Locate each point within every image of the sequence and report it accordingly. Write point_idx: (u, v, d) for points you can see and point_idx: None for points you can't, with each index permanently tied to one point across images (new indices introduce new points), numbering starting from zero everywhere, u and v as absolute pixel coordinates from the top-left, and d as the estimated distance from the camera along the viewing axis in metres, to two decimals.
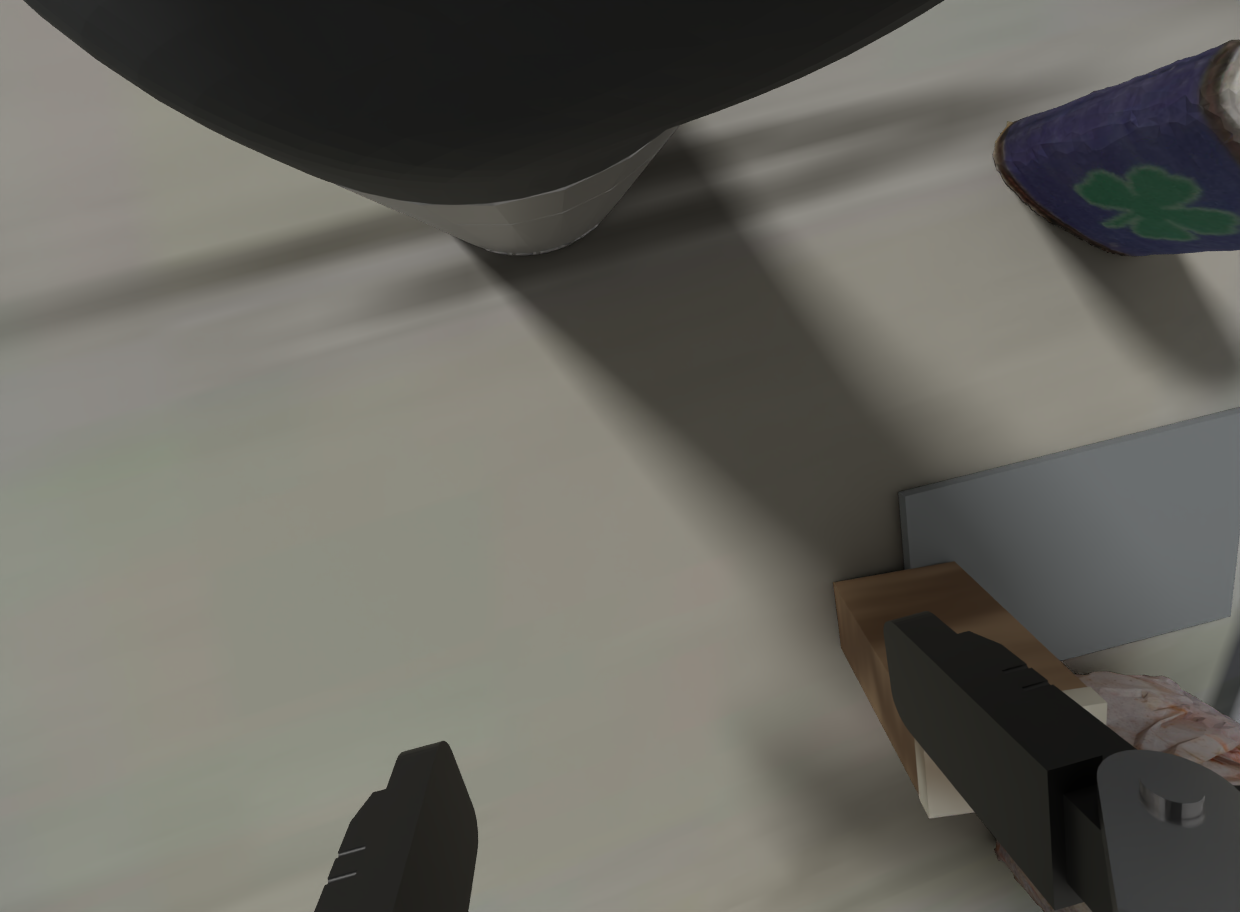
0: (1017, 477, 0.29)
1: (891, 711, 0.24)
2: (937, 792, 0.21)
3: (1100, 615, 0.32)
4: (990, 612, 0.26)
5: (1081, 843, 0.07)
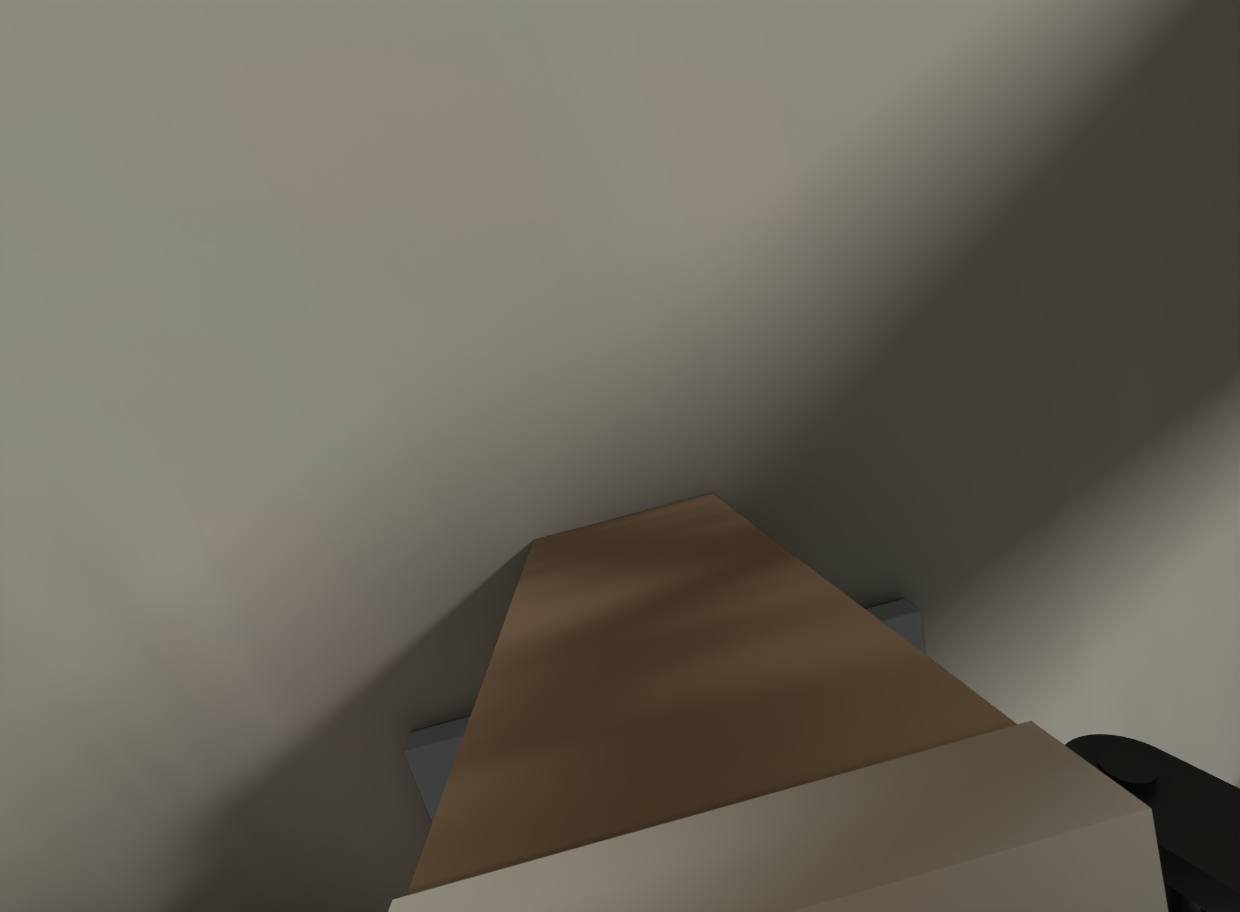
0: None
1: (671, 652, 0.06)
2: None
3: None
4: None
5: None
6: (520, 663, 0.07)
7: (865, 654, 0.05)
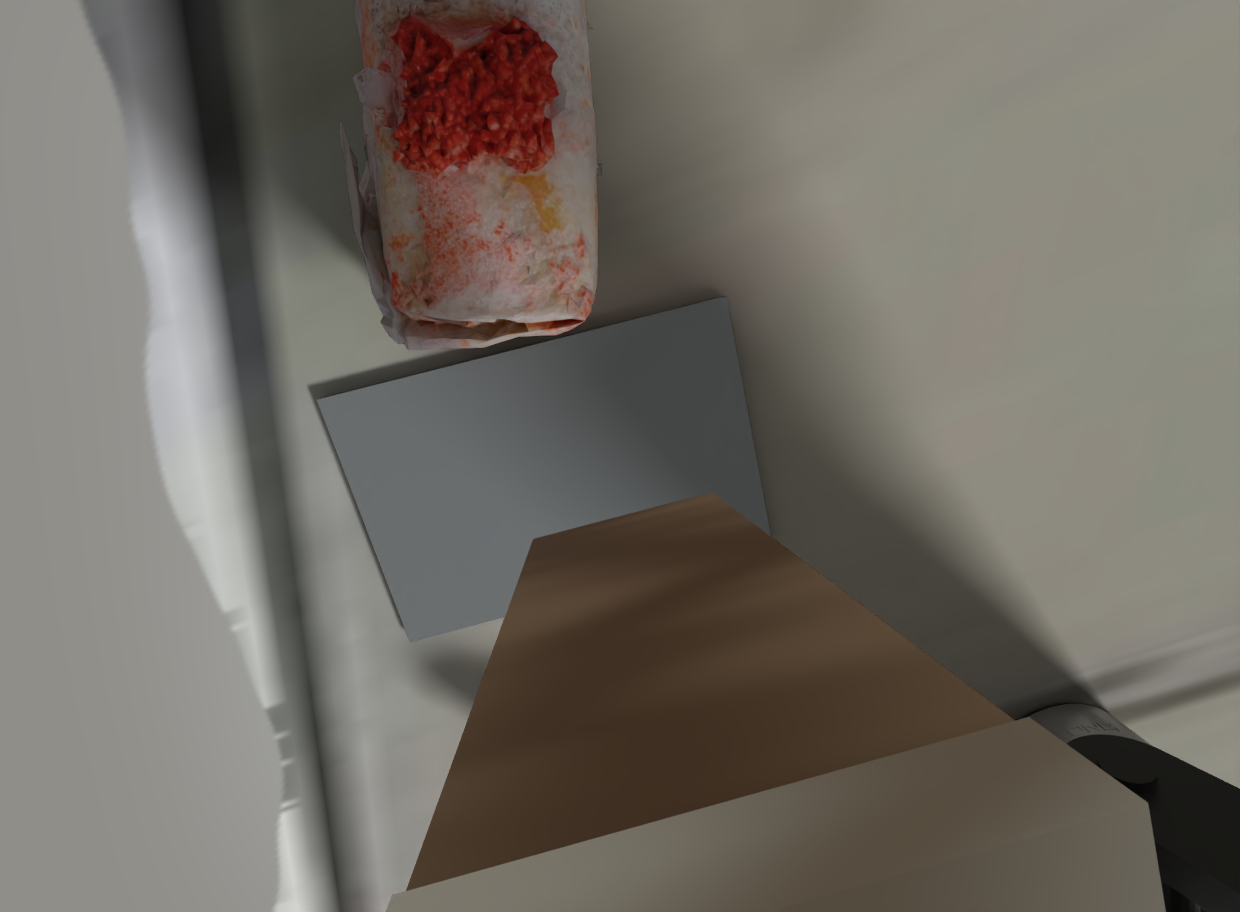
0: None
1: (670, 649, 0.06)
2: None
3: (509, 405, 0.26)
4: None
5: None
6: (519, 661, 0.07)
7: (863, 651, 0.05)
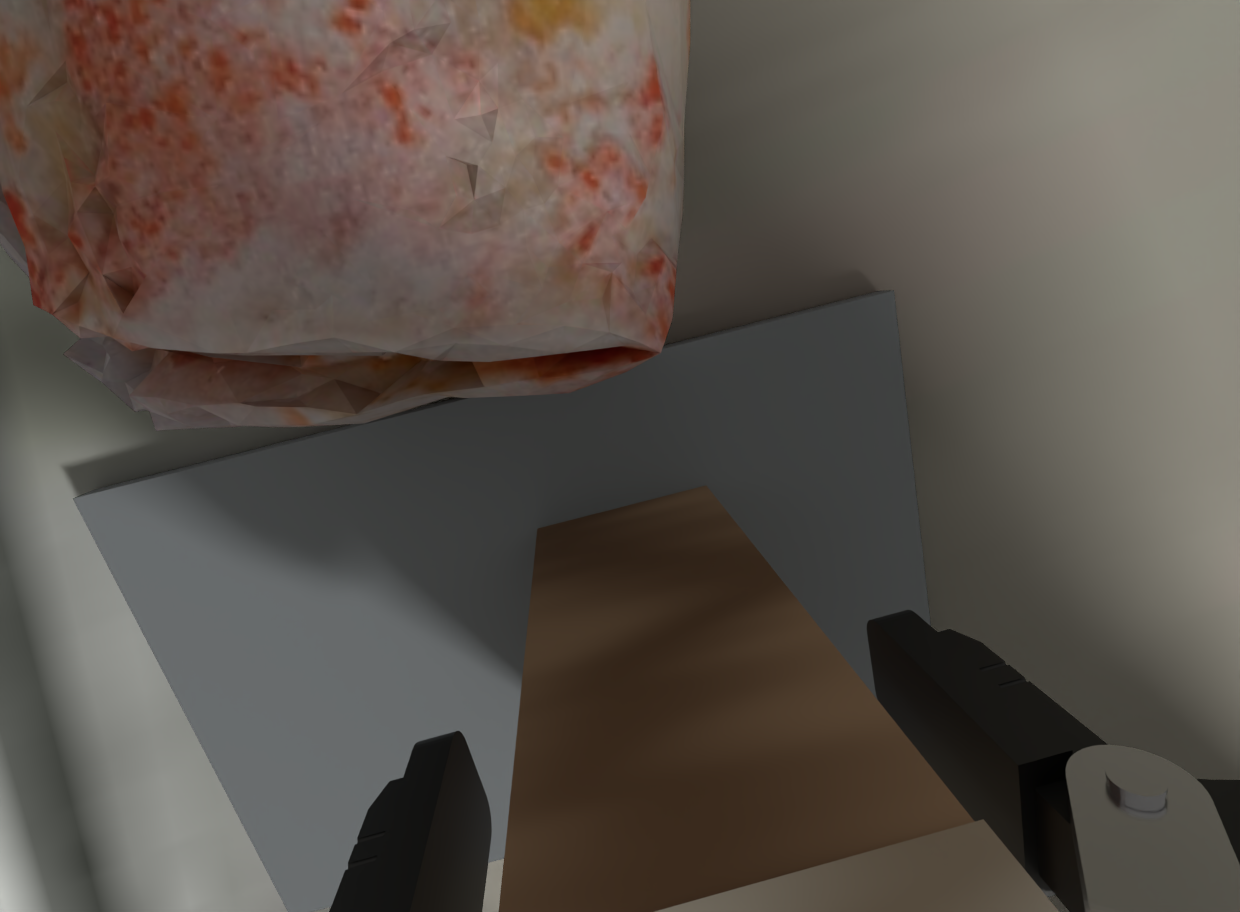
0: None
1: (685, 701, 0.07)
2: None
3: (466, 503, 0.13)
4: None
5: (1051, 836, 0.07)
6: (549, 698, 0.08)
7: (852, 724, 0.06)
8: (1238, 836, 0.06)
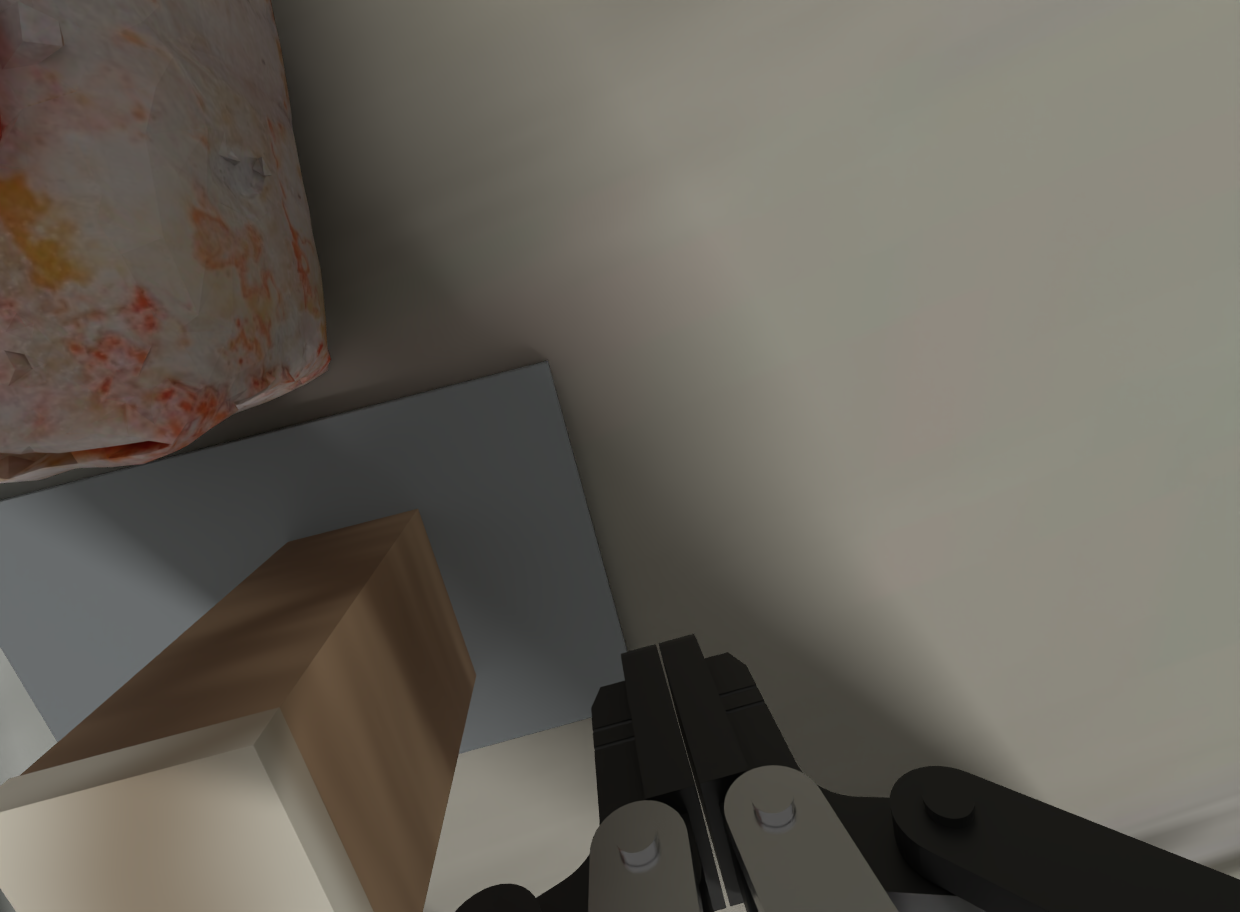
0: (474, 736, 0.20)
1: (231, 656, 0.11)
2: (56, 820, 0.08)
3: (229, 523, 0.18)
4: (445, 756, 0.15)
5: (730, 847, 0.08)
6: (170, 656, 0.12)
7: (290, 665, 0.10)
8: None
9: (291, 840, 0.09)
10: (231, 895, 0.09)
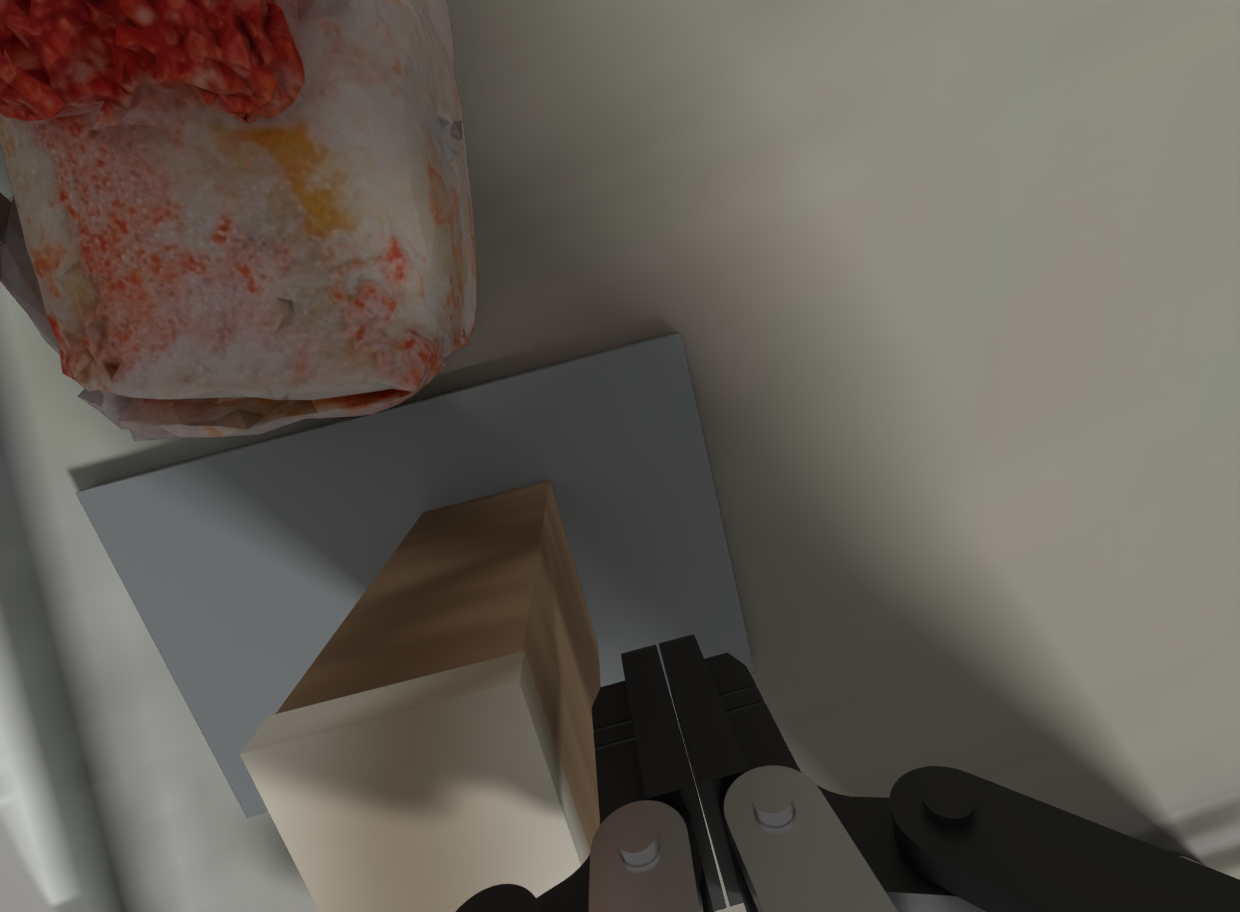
0: None
1: (434, 609, 0.11)
2: (330, 753, 0.09)
3: (368, 494, 0.18)
4: None
5: (730, 847, 0.08)
6: (365, 611, 0.12)
7: (507, 616, 0.11)
8: None
9: (543, 778, 0.09)
10: (482, 832, 0.09)
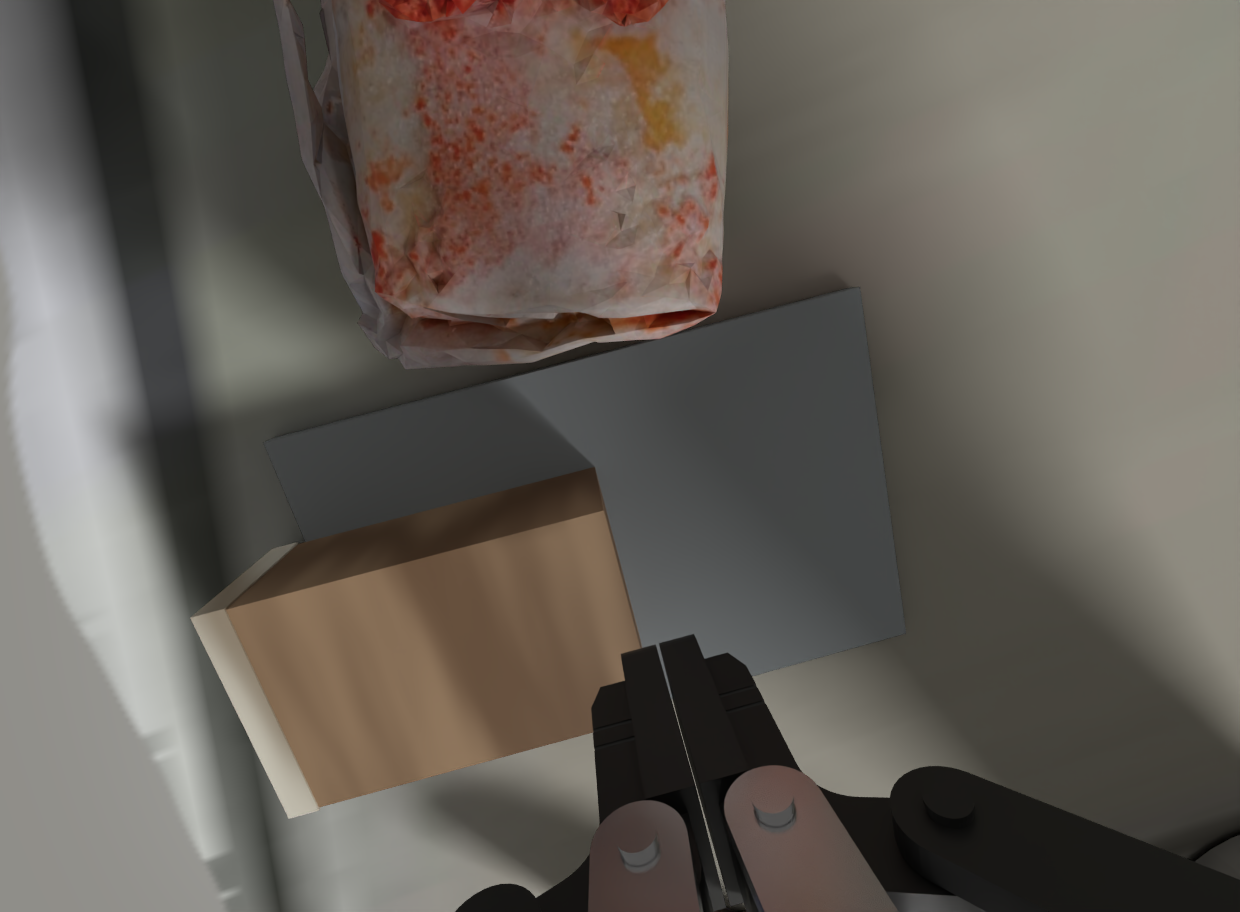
0: (746, 665, 0.20)
1: (350, 551, 0.16)
2: None
3: (544, 447, 0.18)
4: (493, 738, 0.16)
5: (730, 847, 0.08)
6: (394, 522, 0.18)
7: (289, 587, 0.15)
8: None
9: (221, 675, 0.15)
10: None
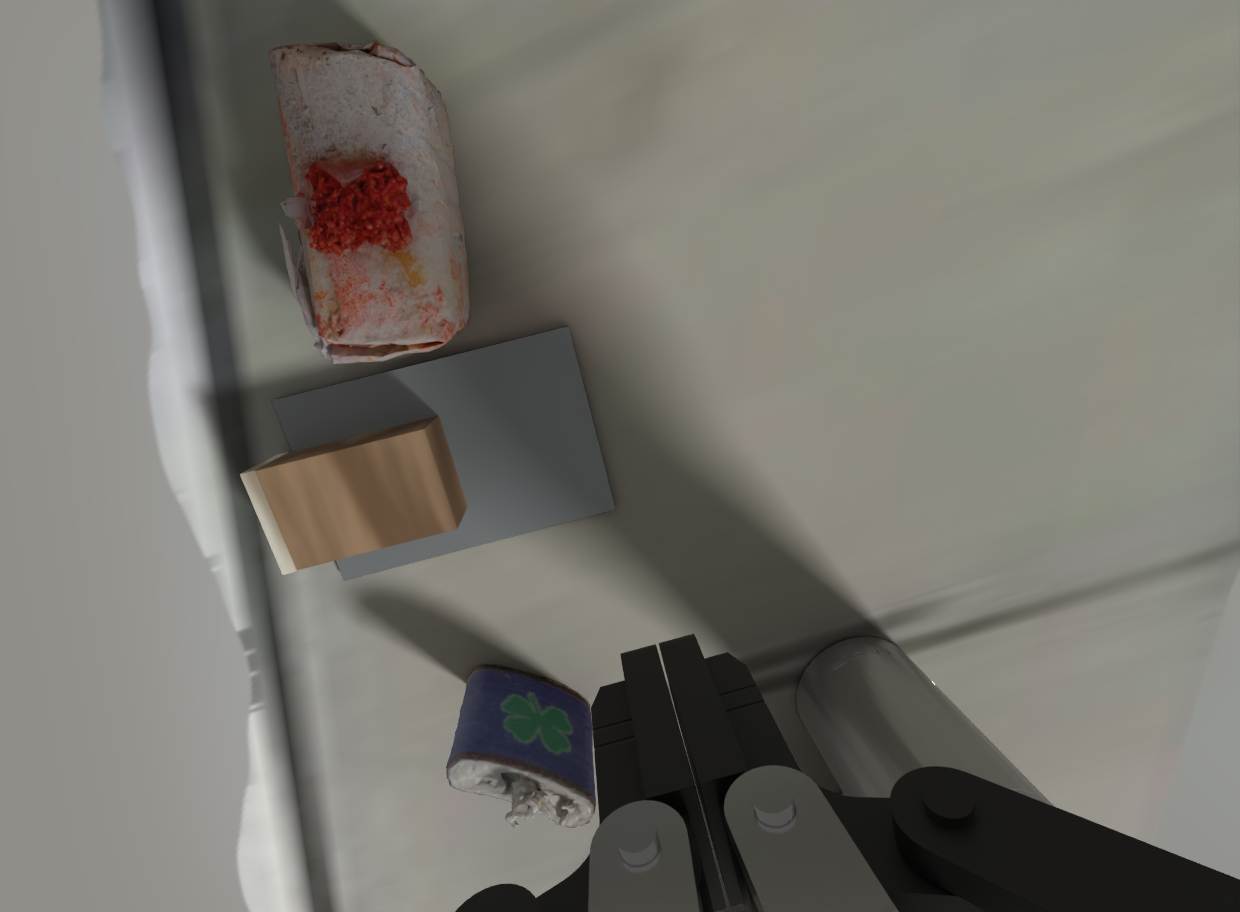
0: (528, 525, 0.38)
1: (312, 451, 0.34)
2: None
3: (412, 405, 0.36)
4: (378, 538, 0.33)
5: (730, 847, 0.08)
6: (336, 442, 0.35)
7: (283, 463, 0.32)
8: None
9: (252, 502, 0.32)
10: None
